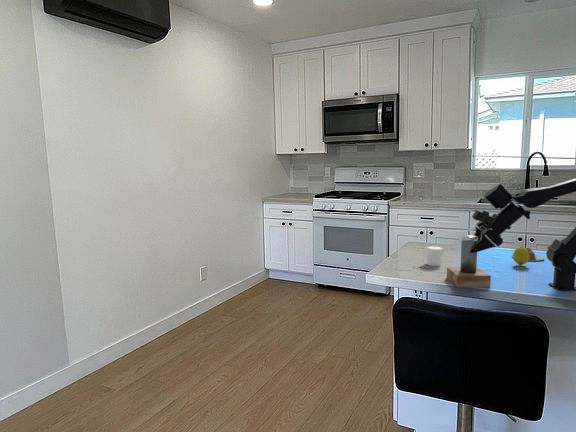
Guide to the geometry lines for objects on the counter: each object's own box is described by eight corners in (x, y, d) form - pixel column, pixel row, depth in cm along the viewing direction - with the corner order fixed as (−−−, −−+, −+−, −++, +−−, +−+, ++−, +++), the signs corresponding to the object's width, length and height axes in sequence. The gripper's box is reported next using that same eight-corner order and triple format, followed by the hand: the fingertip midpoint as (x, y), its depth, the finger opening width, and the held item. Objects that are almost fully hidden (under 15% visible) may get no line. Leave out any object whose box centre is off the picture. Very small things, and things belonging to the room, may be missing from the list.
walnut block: (490, 286, 143) (490, 275, 142) (457, 287, 143) (458, 276, 143) (477, 277, 154) (477, 266, 153) (446, 277, 154) (447, 267, 154)
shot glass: (424, 265, 172) (424, 248, 171) (427, 261, 178) (427, 245, 177) (441, 267, 169) (442, 250, 168) (444, 263, 175) (444, 246, 174)
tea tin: (479, 271, 147) (481, 236, 145) (470, 274, 144) (472, 238, 143) (466, 268, 152) (467, 234, 150) (457, 270, 149) (458, 236, 147)
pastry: (518, 254, 188) (518, 244, 188) (548, 259, 179) (549, 248, 179) (507, 259, 180) (508, 248, 180) (538, 264, 172) (539, 253, 171)
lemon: (530, 267, 165) (531, 247, 164) (515, 267, 166) (516, 247, 165) (525, 264, 171) (526, 244, 169) (510, 263, 172) (511, 244, 171)
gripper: (483, 198, 152) (450, 228, 157) (493, 205, 134) (455, 238, 139) (506, 220, 151) (472, 249, 156) (519, 229, 133) (480, 262, 138)
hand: (469, 249), depth 147 cm, fingers open, 9 cm apart
